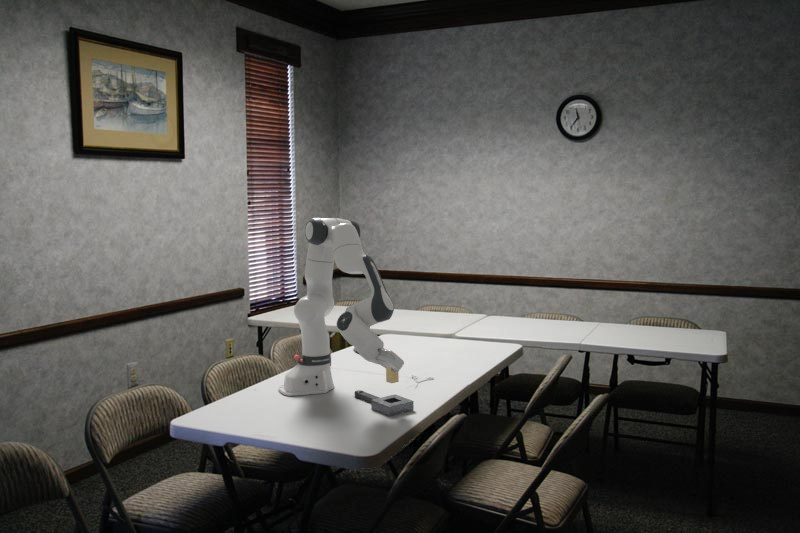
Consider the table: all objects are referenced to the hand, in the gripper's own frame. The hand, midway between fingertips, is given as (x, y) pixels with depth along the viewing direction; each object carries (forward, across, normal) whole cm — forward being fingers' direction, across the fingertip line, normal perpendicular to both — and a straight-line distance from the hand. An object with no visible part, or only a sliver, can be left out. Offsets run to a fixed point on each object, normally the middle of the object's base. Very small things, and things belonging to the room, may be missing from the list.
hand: (393, 369), depth 253 cm
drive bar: (+3, 0, +4) cm, 4 cm away
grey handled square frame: (+10, +9, +11) cm, 17 cm away
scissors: (+32, +23, -10) cm, 41 cm away
